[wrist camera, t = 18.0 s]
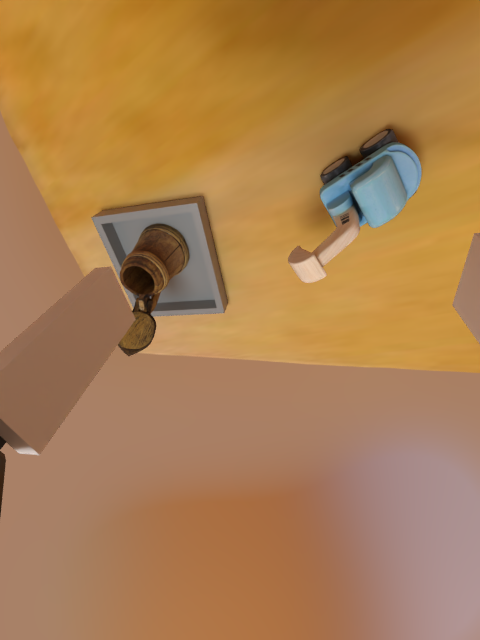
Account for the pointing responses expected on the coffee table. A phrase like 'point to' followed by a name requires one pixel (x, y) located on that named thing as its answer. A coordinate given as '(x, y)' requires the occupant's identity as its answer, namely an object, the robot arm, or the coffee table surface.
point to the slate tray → (203, 267)
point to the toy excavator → (361, 198)
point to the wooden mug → (150, 279)
